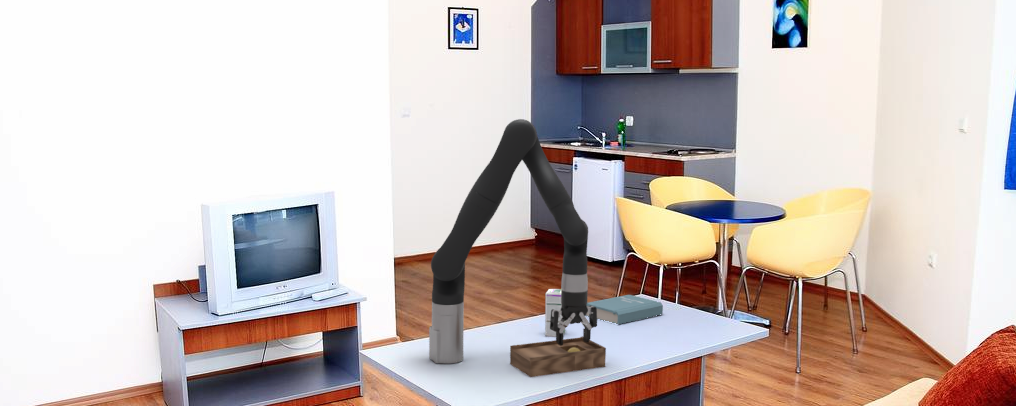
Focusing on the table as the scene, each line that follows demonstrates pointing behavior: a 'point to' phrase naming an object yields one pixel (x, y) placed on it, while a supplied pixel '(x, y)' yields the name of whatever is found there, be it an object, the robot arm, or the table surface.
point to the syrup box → (551, 303)
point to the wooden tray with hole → (557, 357)
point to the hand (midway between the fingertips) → (573, 343)
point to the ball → (573, 350)
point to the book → (626, 309)
